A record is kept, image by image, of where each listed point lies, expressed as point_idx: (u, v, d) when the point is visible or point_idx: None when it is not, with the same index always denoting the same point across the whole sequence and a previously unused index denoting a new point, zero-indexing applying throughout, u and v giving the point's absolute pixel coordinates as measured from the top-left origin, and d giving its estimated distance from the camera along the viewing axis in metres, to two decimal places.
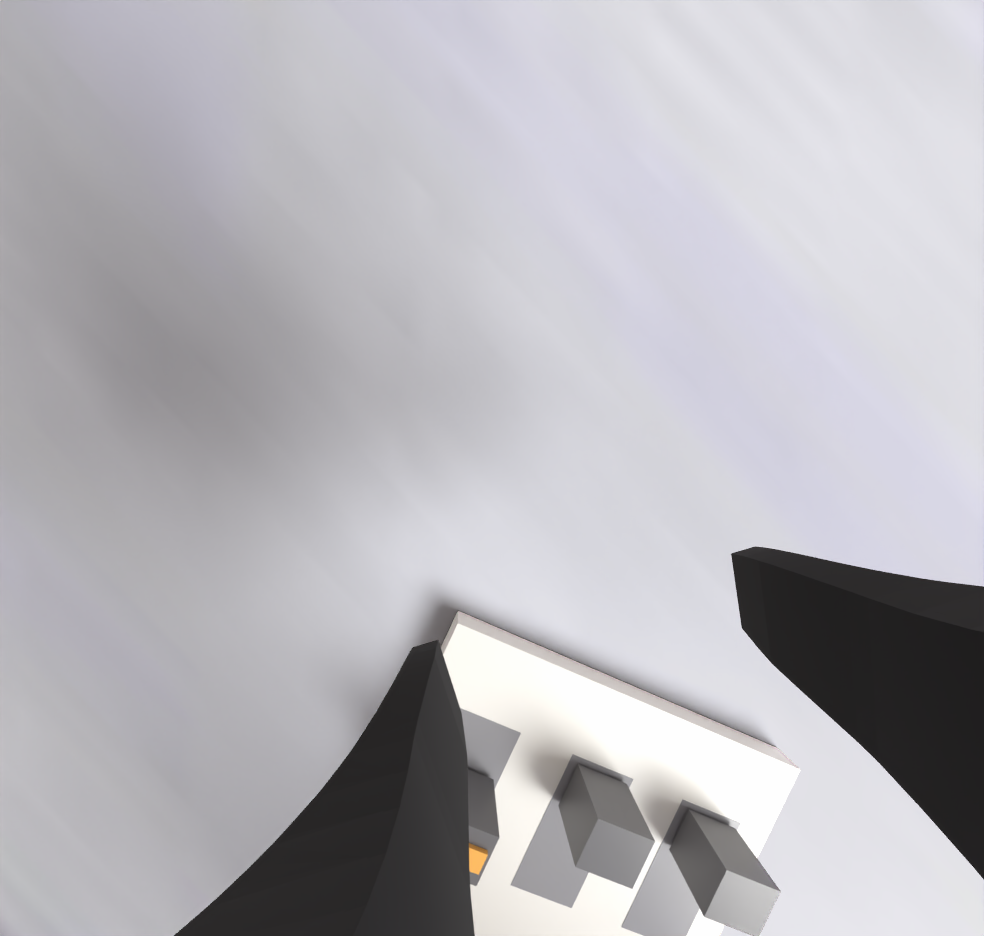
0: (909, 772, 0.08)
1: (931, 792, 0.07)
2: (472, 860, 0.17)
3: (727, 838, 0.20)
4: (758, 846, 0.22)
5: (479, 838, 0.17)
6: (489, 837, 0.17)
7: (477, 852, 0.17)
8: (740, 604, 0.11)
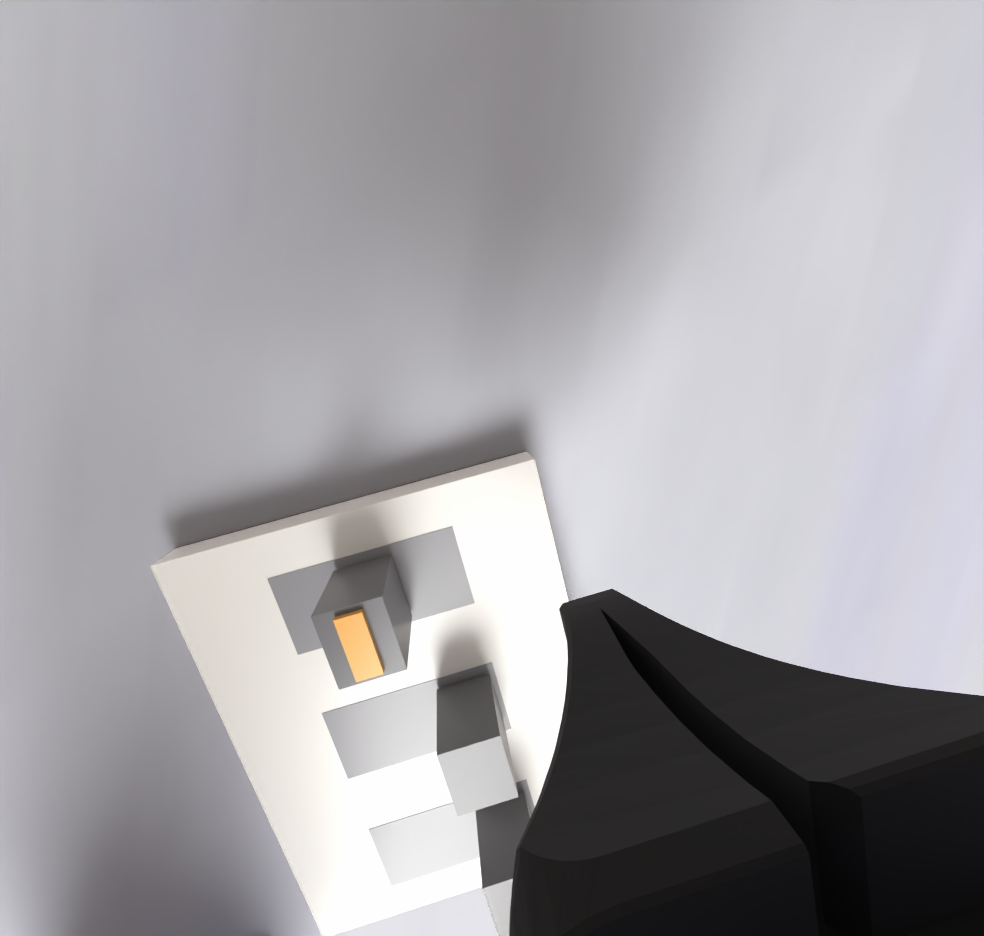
0: None
1: None
2: (365, 665, 0.13)
3: None
4: None
5: (390, 652, 0.14)
6: (398, 660, 0.14)
7: (377, 662, 0.13)
8: None
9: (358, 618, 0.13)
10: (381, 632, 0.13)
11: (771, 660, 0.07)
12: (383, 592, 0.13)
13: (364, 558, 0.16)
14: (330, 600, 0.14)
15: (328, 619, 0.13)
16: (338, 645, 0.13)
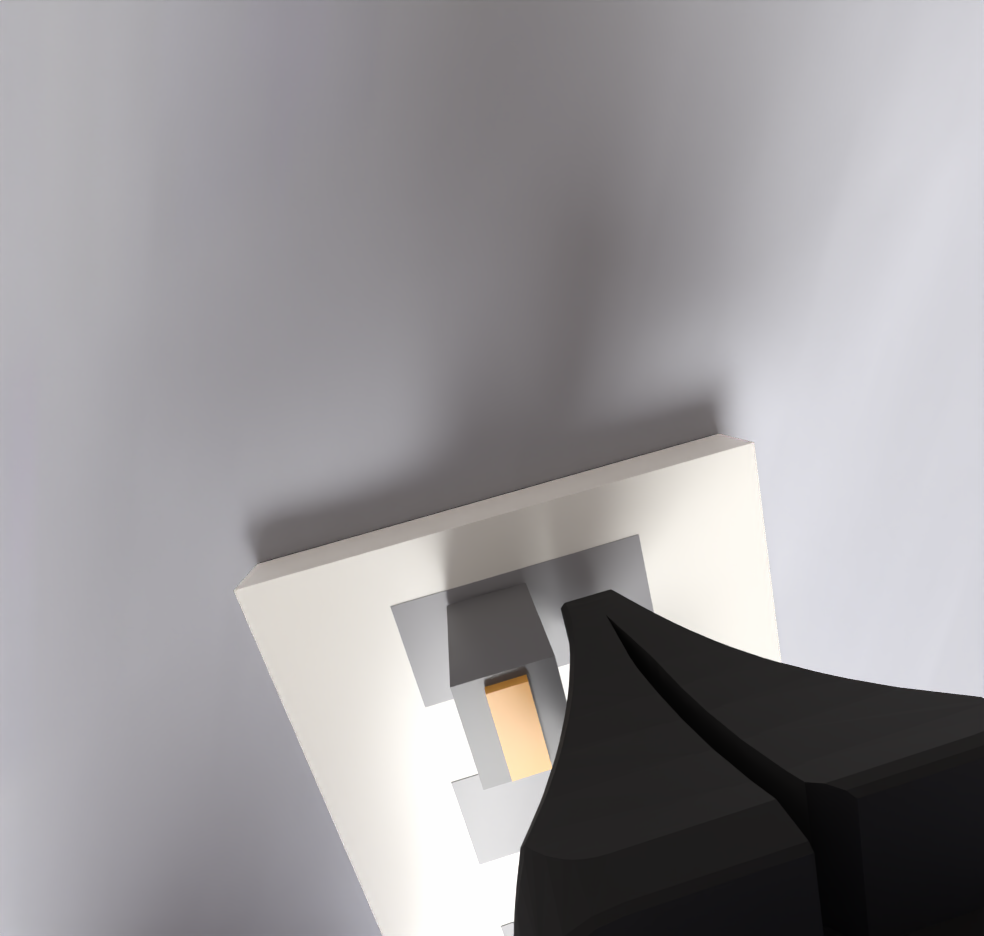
0: None
1: None
2: (527, 757, 0.09)
3: None
4: None
5: (559, 736, 0.09)
6: None
7: (543, 752, 0.09)
8: None
9: (521, 689, 0.09)
10: (549, 708, 0.09)
11: (768, 660, 0.07)
12: (551, 647, 0.09)
13: (521, 577, 0.12)
14: (468, 657, 0.09)
15: (475, 690, 0.09)
16: (487, 727, 0.09)
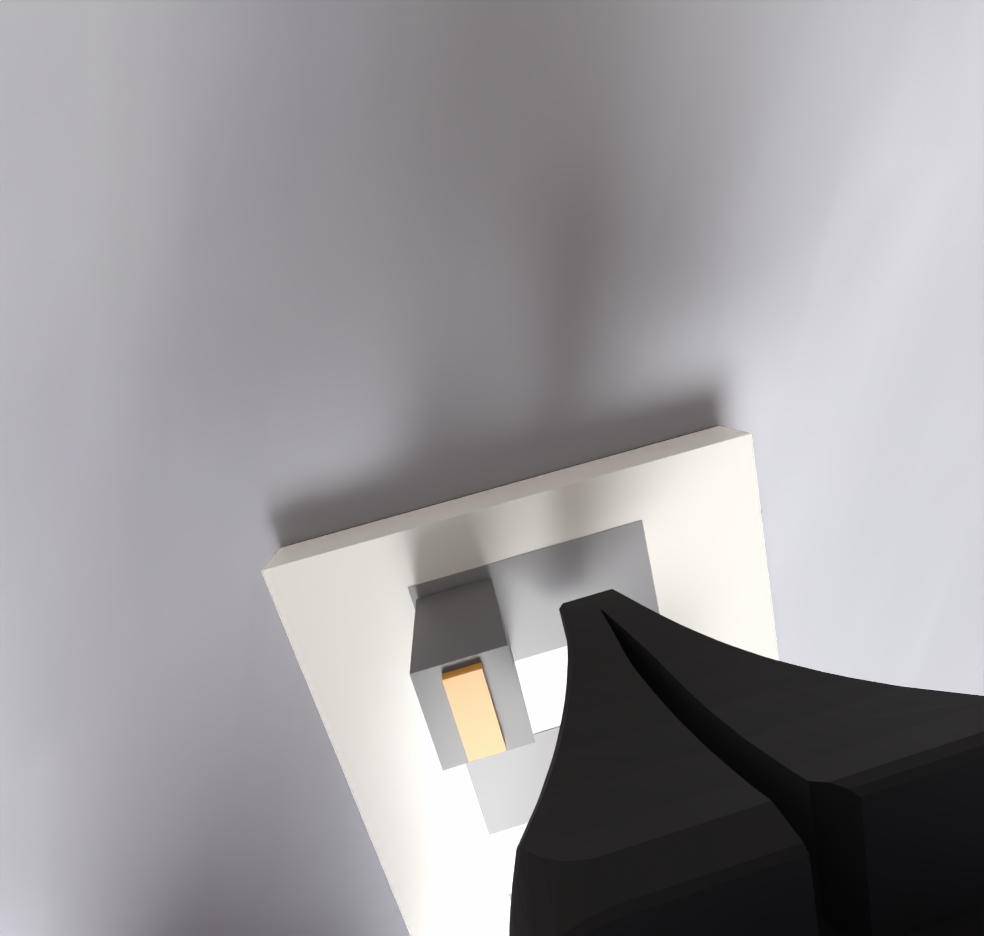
0: None
1: None
2: (482, 740, 0.10)
3: None
4: None
5: (514, 720, 0.10)
6: (524, 730, 0.10)
7: (498, 735, 0.10)
8: None
9: (476, 676, 0.09)
10: (504, 694, 0.10)
11: (770, 660, 0.07)
12: (506, 638, 0.10)
13: (531, 560, 0.13)
14: (429, 646, 0.10)
15: (433, 677, 0.09)
16: (445, 711, 0.10)
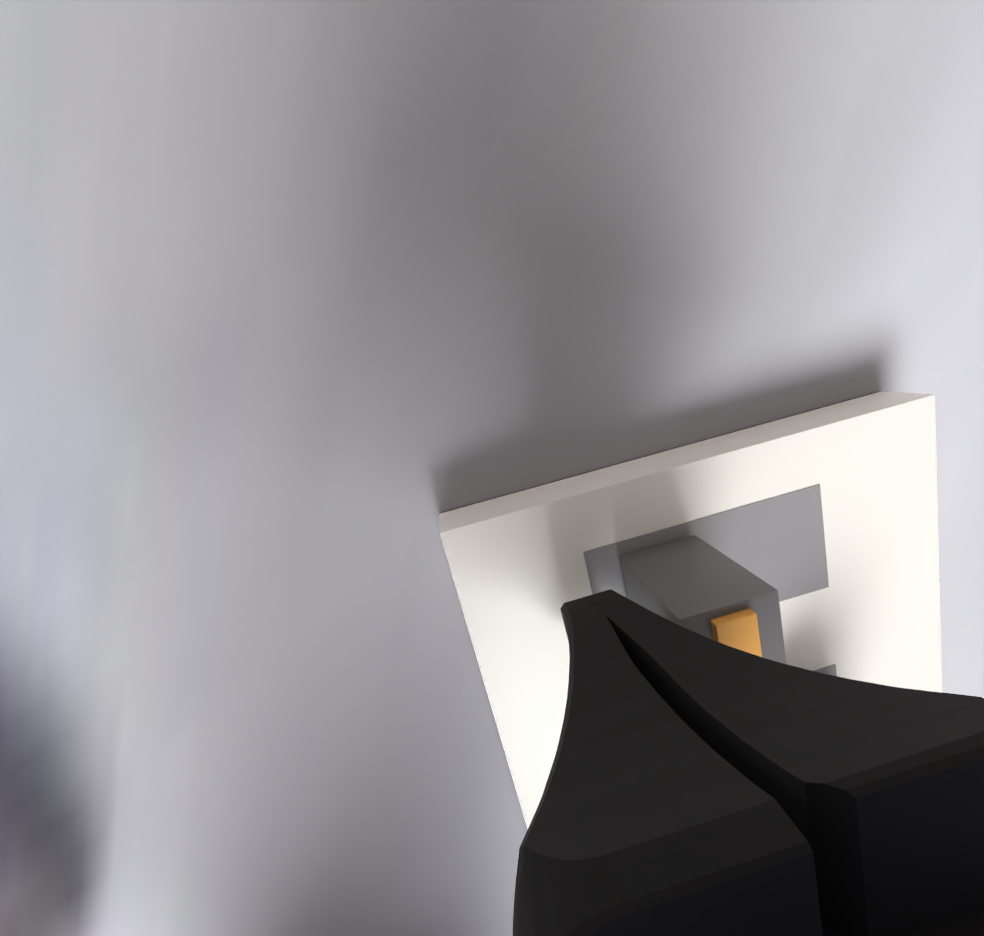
0: None
1: None
2: None
3: None
4: None
5: None
6: None
7: None
8: None
9: (748, 622, 0.09)
10: (766, 643, 0.09)
11: (768, 660, 0.07)
12: (767, 584, 0.09)
13: (707, 525, 0.12)
14: (679, 595, 0.10)
15: (702, 623, 0.09)
16: None
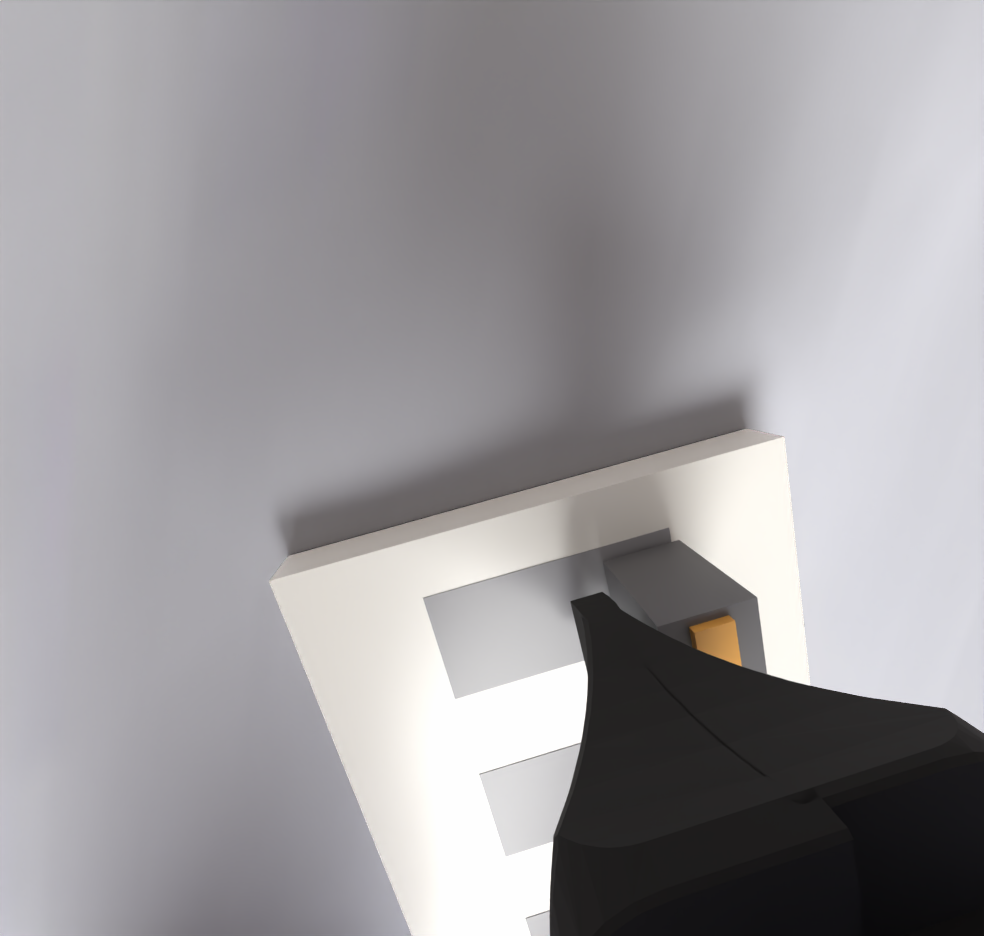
0: None
1: None
2: None
3: None
4: None
5: None
6: None
7: None
8: (582, 652, 0.11)
9: (726, 629, 0.09)
10: (746, 650, 0.09)
11: (744, 668, 0.07)
12: (746, 591, 0.09)
13: (552, 570, 0.12)
14: (659, 602, 0.10)
15: (680, 630, 0.09)
16: None
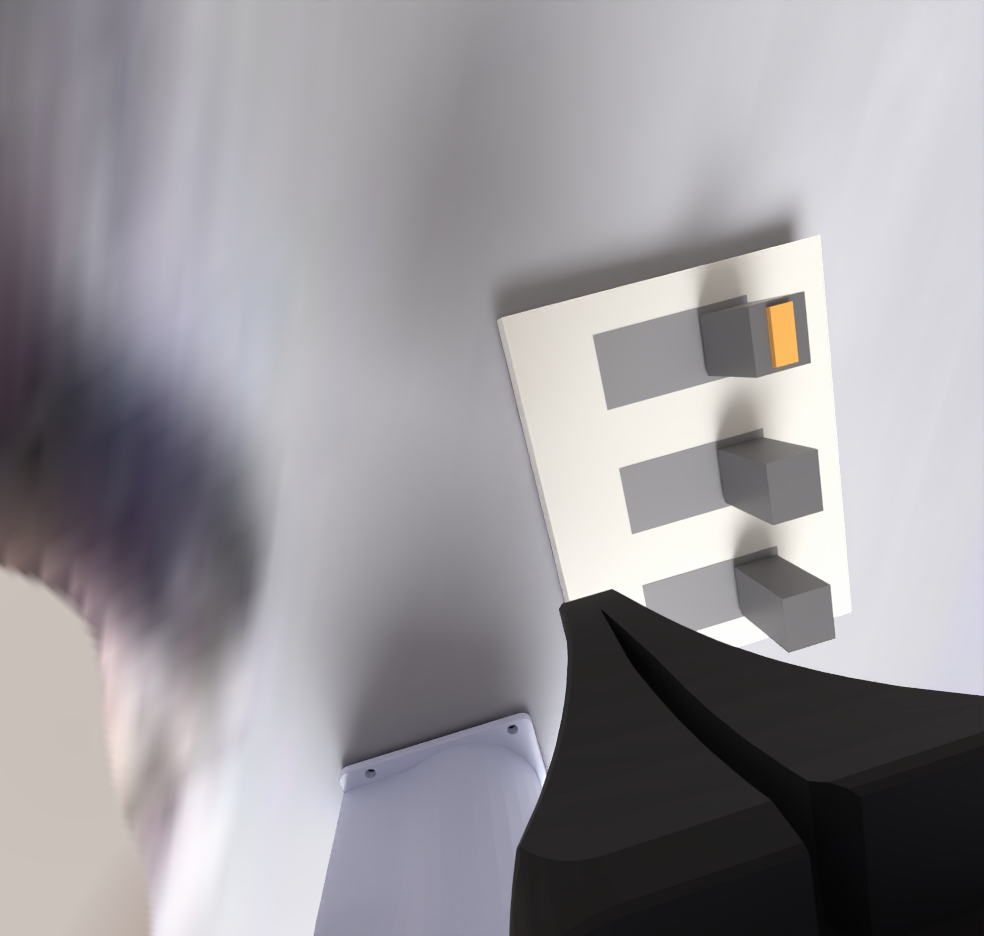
0: None
1: None
2: (786, 352, 0.16)
3: None
4: None
5: (801, 345, 0.16)
6: (805, 354, 0.16)
7: (794, 351, 0.16)
8: None
9: (787, 307, 0.16)
10: (797, 325, 0.16)
11: (771, 660, 0.07)
12: None
13: (673, 320, 0.19)
14: (745, 306, 0.16)
15: (761, 309, 0.16)
16: (763, 335, 0.16)
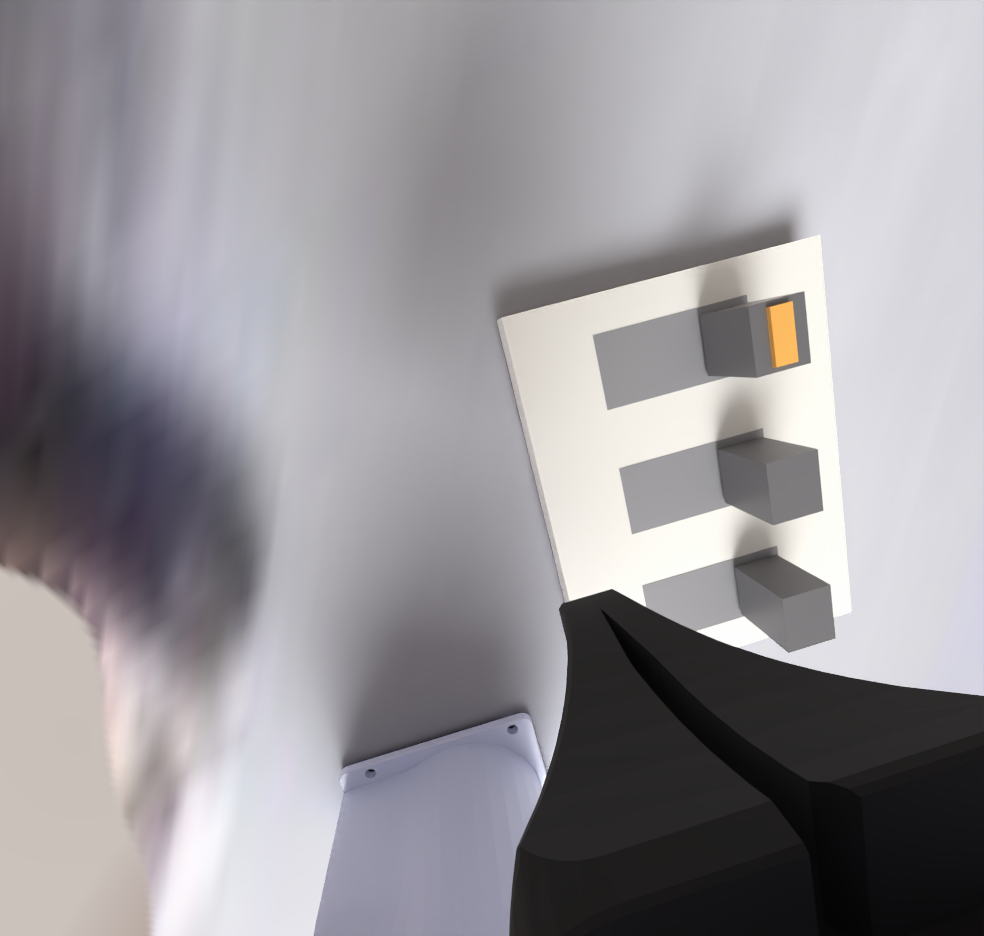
0: None
1: None
2: (786, 352, 0.16)
3: None
4: None
5: (801, 345, 0.16)
6: (805, 354, 0.16)
7: (794, 351, 0.16)
8: None
9: (787, 307, 0.16)
10: (797, 325, 0.16)
11: (771, 660, 0.07)
12: None
13: (673, 320, 0.19)
14: (745, 306, 0.16)
15: (761, 309, 0.16)
16: (763, 335, 0.16)
